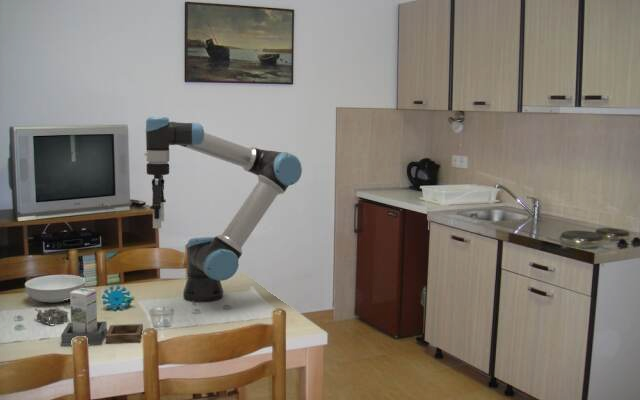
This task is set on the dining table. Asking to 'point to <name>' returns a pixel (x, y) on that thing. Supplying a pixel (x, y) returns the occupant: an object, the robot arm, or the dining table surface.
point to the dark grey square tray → (93, 337)
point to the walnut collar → (116, 337)
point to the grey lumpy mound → (52, 316)
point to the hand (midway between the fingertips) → (158, 224)
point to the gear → (117, 298)
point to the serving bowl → (53, 287)
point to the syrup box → (83, 310)
